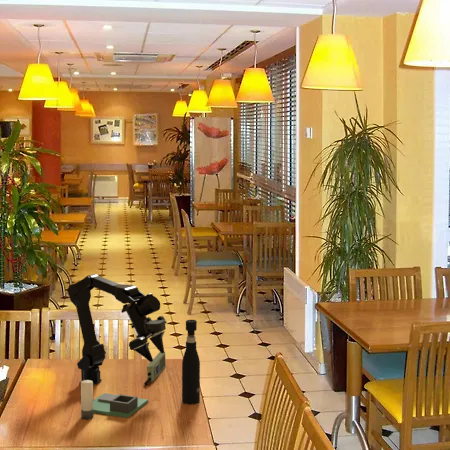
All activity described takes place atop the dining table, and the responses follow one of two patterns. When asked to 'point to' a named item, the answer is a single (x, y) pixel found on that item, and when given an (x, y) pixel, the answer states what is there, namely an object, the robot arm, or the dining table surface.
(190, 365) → the wine bottle
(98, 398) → the board
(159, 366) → the handheld radio
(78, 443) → the dining table surface
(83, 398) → the white cylinder
